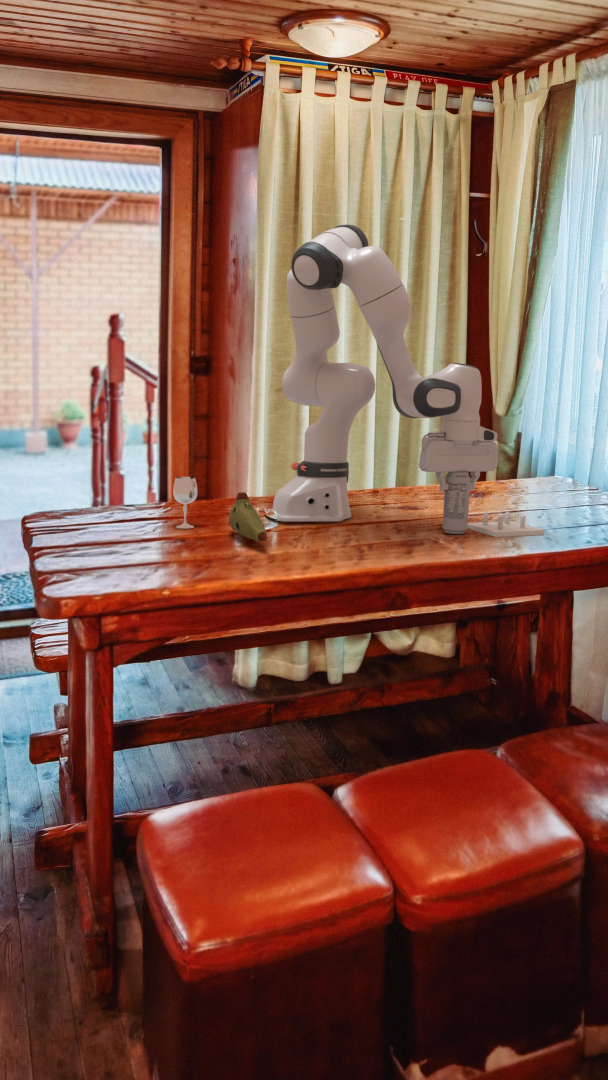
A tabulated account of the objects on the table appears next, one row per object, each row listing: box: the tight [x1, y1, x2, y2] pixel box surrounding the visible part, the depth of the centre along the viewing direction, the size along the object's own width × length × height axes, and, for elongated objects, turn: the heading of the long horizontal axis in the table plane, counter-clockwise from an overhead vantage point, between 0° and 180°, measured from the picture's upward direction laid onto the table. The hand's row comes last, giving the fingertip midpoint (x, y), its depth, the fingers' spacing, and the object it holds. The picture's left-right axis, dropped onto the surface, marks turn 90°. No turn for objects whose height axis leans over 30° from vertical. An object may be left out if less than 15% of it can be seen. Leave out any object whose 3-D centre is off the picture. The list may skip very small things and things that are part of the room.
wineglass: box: [172, 476, 198, 529], centre depth 217 cm, size 6×6×12 cm
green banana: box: [228, 491, 268, 542], centre depth 206 cm, size 20×5×10 cm, turn 27°
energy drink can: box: [442, 472, 471, 535], centre depth 218 cm, size 6×6×15 cm
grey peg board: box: [467, 511, 545, 538], centre depth 224 cm, size 14×14×4 cm
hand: (457, 490), depth 217 cm, fingers closed on energy drink can, 6 cm apart
